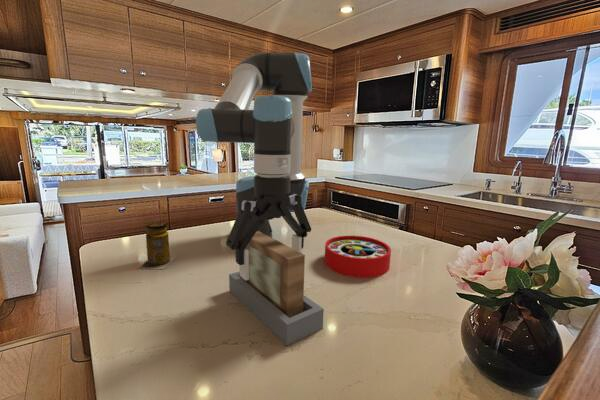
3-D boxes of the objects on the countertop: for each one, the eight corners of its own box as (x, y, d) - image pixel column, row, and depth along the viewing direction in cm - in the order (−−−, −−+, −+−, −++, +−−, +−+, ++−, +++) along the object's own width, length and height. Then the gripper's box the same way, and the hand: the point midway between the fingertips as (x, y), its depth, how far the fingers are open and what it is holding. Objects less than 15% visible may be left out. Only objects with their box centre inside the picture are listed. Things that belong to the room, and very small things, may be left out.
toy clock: (328, 233, 105) (388, 238, 101) (327, 249, 106) (386, 254, 103) (321, 255, 86) (394, 262, 82) (320, 274, 87) (392, 282, 83)
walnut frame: (244, 288, 74) (243, 234, 71) (259, 283, 77) (259, 231, 74) (286, 324, 61) (287, 259, 58) (303, 317, 63) (305, 254, 60)
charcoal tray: (229, 290, 76) (229, 274, 75) (260, 281, 81) (260, 265, 80) (287, 346, 57) (287, 324, 56) (322, 328, 62) (323, 308, 61)
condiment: (175, 257, 95) (172, 221, 93) (164, 269, 87) (161, 229, 84) (151, 257, 95) (148, 220, 92) (138, 269, 87) (134, 229, 84)
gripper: (222, 181, 52) (226, 293, 57) (328, 173, 67) (324, 261, 72) (206, 176, 58) (211, 277, 63) (307, 169, 73) (305, 251, 78)
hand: (271, 269), depth 67 cm, fingers open, 13 cm apart
